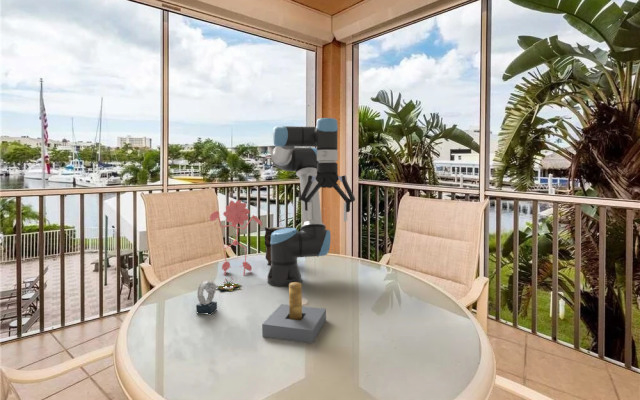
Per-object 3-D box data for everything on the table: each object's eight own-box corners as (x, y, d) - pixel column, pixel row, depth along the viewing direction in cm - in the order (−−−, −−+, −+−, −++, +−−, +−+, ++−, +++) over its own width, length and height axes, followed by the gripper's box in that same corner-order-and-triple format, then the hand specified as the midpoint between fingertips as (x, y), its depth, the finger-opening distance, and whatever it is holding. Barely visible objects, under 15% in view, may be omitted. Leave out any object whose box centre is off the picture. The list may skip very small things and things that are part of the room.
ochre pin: (287, 328, 113) (287, 285, 112) (292, 323, 117) (291, 281, 115) (299, 330, 112) (299, 286, 111) (303, 324, 116) (303, 282, 114)
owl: (295, 264, 185) (294, 226, 183) (273, 269, 178) (272, 229, 176) (283, 259, 195) (282, 223, 193) (262, 263, 188) (261, 225, 186)
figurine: (261, 276, 166) (259, 201, 163) (207, 275, 168) (204, 201, 165) (268, 267, 182) (266, 198, 179) (218, 266, 183) (216, 199, 180)
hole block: (262, 336, 109) (262, 324, 109) (281, 315, 124) (281, 303, 124) (312, 343, 105) (312, 330, 104) (326, 320, 120) (326, 308, 120)
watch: (219, 307, 131) (218, 278, 130) (207, 317, 123) (206, 286, 122) (206, 306, 132) (204, 277, 131) (193, 315, 124) (192, 284, 123)
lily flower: (212, 286, 155) (212, 276, 154) (240, 282, 160) (239, 272, 159) (216, 295, 144) (216, 284, 143) (246, 291, 149) (245, 280, 148)
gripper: (291, 162, 128) (291, 220, 131) (359, 161, 122) (359, 223, 124) (297, 162, 136) (298, 217, 138) (363, 161, 129) (362, 219, 131)
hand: (327, 220), depth 131 cm, fingers open, 13 cm apart
